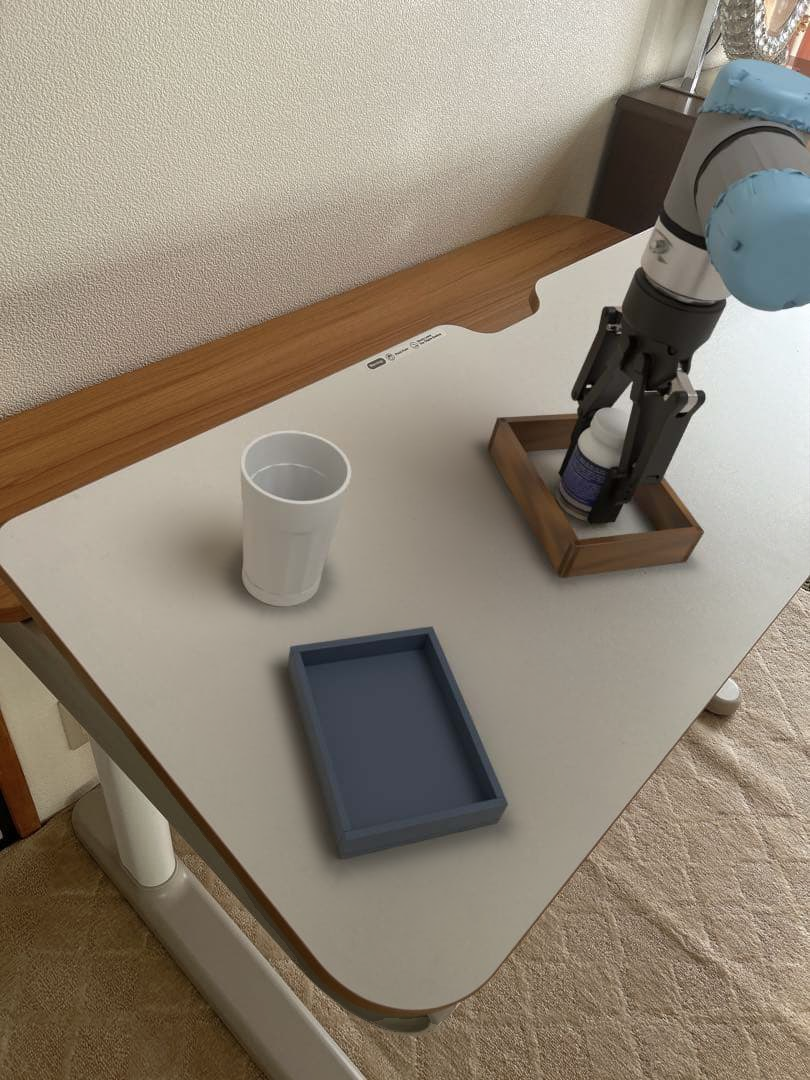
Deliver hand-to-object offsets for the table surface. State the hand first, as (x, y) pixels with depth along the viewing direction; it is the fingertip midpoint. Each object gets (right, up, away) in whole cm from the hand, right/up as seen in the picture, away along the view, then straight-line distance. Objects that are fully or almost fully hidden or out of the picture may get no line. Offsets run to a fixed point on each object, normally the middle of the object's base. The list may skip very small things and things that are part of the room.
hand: (586, 496), depth 85 cm
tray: (-19, -19, -22) cm, 35 cm away
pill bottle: (0, -1, +1) cm, 1 cm away
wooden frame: (0, -1, +1) cm, 1 cm away
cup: (-28, -7, -13) cm, 31 cm away
